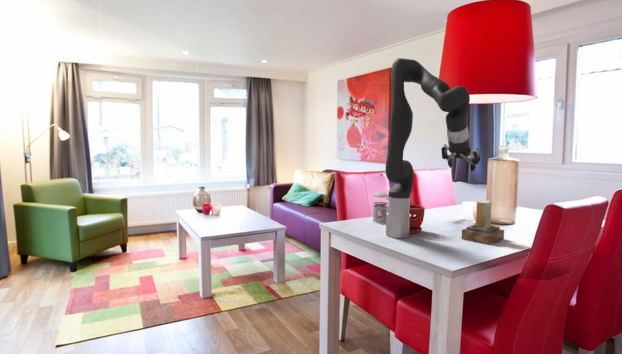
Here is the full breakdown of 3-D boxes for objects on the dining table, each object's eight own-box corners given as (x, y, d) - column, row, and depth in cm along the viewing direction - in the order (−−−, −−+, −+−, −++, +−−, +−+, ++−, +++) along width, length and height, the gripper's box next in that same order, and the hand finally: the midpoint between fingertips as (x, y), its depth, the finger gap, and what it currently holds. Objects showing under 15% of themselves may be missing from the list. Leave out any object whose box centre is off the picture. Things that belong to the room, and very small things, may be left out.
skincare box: (480, 227, 163) (481, 199, 162) (490, 229, 160) (492, 200, 159) (475, 230, 158) (476, 201, 157) (486, 232, 155) (487, 202, 154)
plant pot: (425, 235, 166) (425, 208, 165) (394, 234, 169) (395, 207, 168) (422, 228, 179) (423, 203, 178) (394, 227, 182) (394, 203, 181)
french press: (367, 220, 198) (367, 173, 196) (385, 218, 203) (386, 172, 200) (378, 224, 189) (378, 174, 187) (396, 222, 194) (397, 173, 192)
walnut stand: (461, 239, 160) (462, 227, 159) (475, 234, 168) (476, 222, 168) (490, 244, 151) (490, 232, 150) (503, 239, 159) (504, 227, 159)
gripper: (481, 132, 140) (483, 165, 149) (443, 128, 149) (448, 159, 158) (473, 144, 136) (476, 177, 146) (435, 140, 145) (441, 171, 155)
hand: (462, 168), depth 152 cm, fingers open, 8 cm apart
